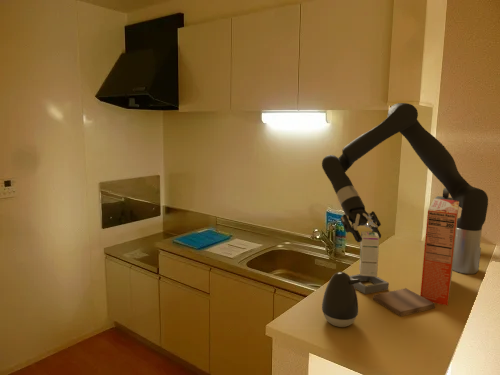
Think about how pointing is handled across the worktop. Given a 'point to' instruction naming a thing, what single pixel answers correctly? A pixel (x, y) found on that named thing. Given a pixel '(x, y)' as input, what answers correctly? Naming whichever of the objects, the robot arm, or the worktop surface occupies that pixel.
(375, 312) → the worktop surface
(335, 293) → the pump dispenser
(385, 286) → the holder
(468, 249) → the robot arm
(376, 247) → the syrup box
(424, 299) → the board
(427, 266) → the pasta box
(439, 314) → the worktop surface
